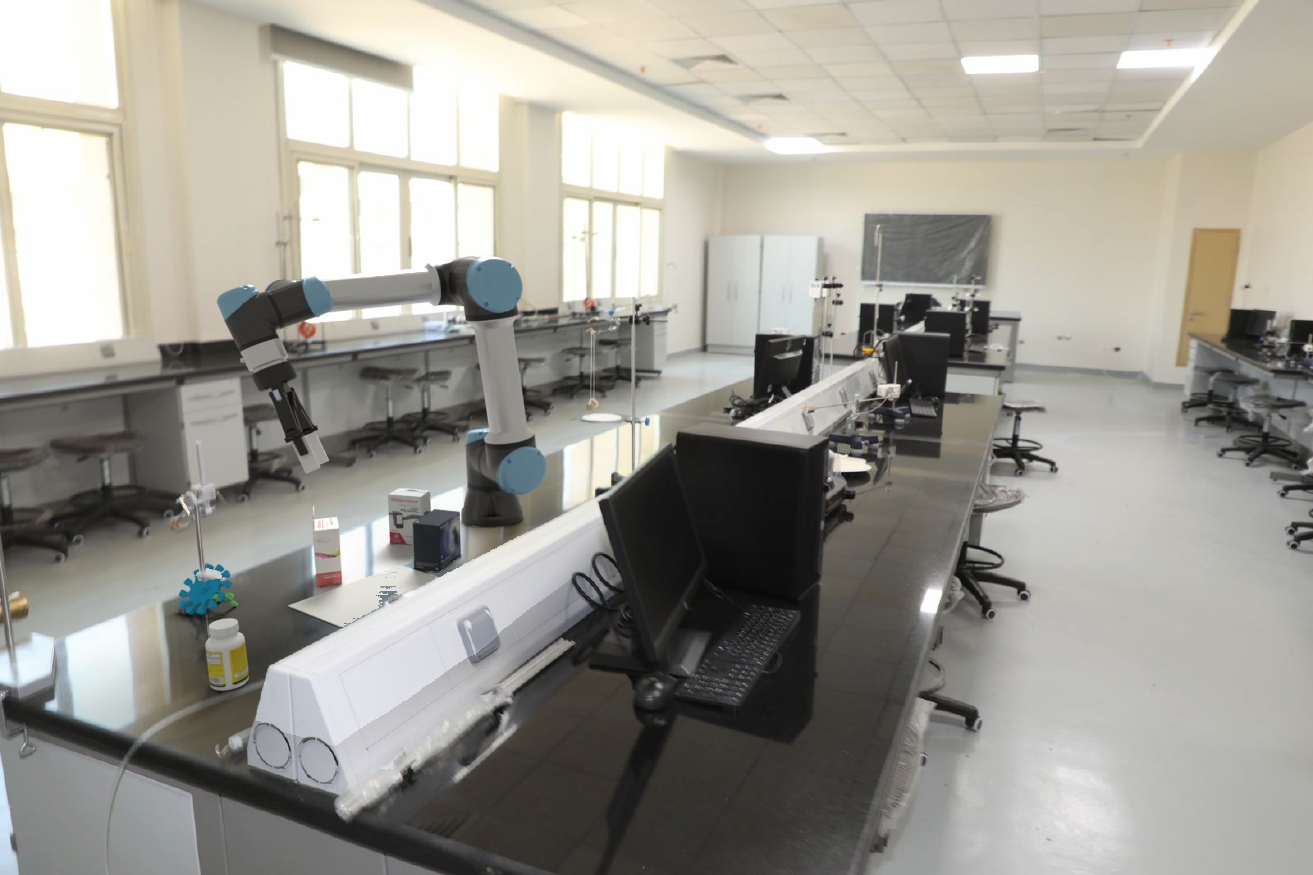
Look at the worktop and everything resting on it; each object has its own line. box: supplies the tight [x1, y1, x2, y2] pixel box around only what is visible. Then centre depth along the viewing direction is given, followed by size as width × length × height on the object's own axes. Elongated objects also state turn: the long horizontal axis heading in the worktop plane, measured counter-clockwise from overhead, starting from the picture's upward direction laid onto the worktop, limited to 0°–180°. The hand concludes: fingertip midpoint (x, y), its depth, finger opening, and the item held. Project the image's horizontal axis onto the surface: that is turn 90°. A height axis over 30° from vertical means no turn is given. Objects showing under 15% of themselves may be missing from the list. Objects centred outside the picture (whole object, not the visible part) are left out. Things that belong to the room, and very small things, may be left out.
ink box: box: [387, 487, 432, 546], centre depth 193 cm, size 9×5×12 cm, turn 78°
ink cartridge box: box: [312, 505, 343, 588], centre depth 170 cm, size 9×5×15 cm, turn 23°
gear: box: [178, 563, 239, 616], centre depth 157 cm, size 11×6×10 cm
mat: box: [287, 564, 437, 628], centre depth 163 cm, size 26×18×1 cm
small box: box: [412, 508, 462, 573], centre depth 180 cm, size 11×6×10 cm, turn 168°
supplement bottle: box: [205, 617, 250, 692], centre depth 128 cm, size 5×5×10 cm
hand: (318, 467), depth 165 cm, fingers open, 13 cm apart
